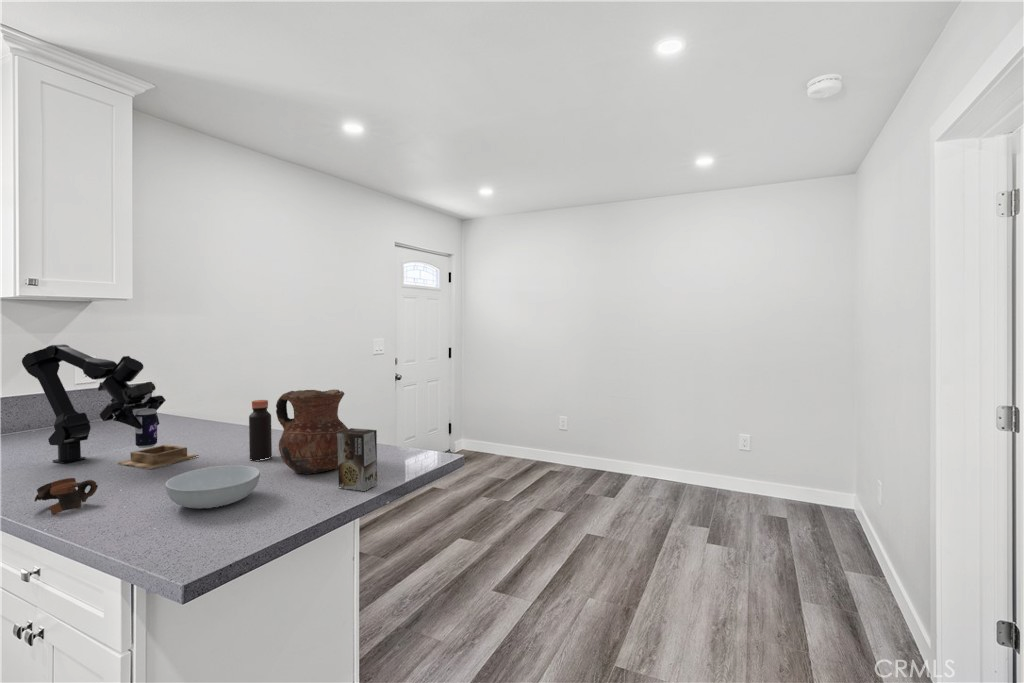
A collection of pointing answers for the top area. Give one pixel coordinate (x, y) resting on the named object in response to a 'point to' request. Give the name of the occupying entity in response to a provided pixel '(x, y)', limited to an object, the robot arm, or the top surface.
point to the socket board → (158, 456)
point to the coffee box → (357, 459)
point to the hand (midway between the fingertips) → (149, 426)
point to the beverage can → (146, 428)
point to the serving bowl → (212, 486)
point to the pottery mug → (66, 493)
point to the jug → (310, 430)
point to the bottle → (260, 431)
